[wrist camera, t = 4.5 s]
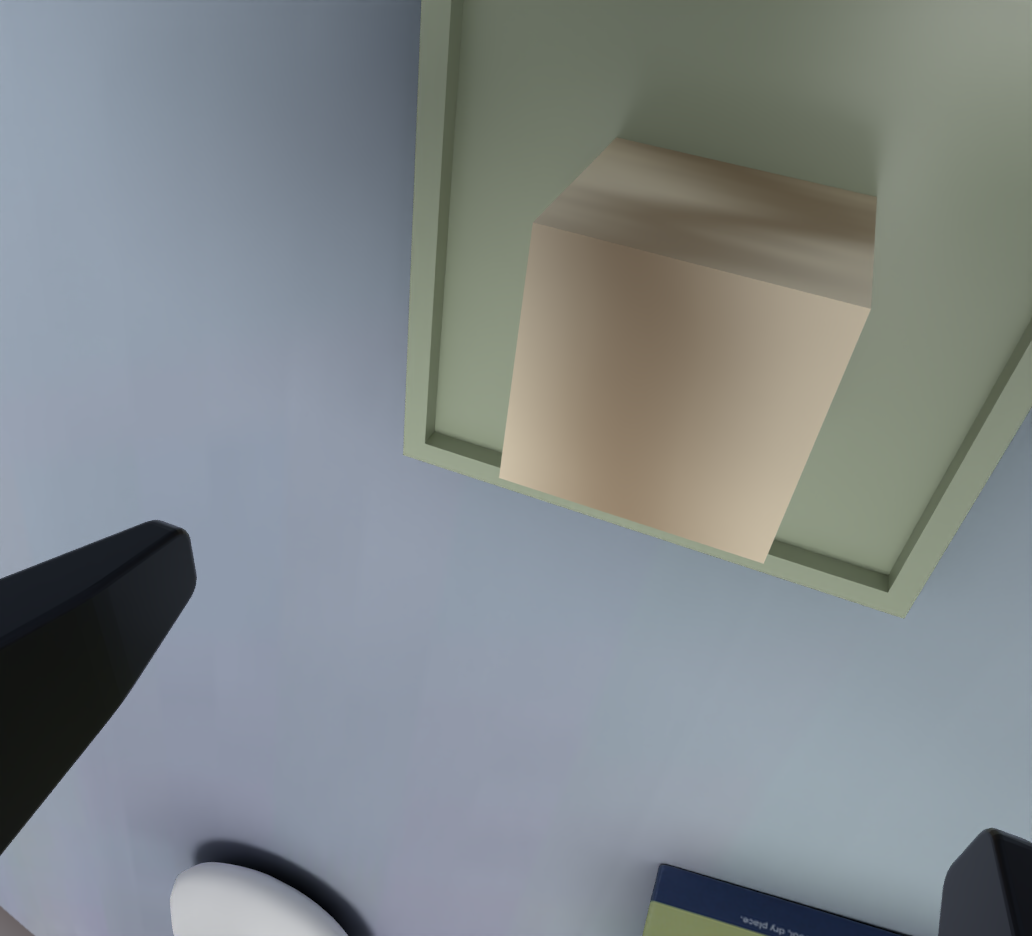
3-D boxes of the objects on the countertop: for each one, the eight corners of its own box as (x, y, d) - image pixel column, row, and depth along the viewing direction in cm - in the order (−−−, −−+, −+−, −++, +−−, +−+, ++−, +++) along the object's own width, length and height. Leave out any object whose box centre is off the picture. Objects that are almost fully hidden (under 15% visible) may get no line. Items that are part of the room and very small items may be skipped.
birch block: (877, 196, 15) (870, 309, 12) (790, 418, 19) (763, 563, 15) (616, 137, 16) (532, 222, 13) (576, 356, 20) (498, 478, 16)
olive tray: (1255, -12, 12) (1278, -3, 12) (903, 590, 20) (904, 618, 20) (450, -145, 15) (427, -145, 14) (419, 435, 23) (402, 454, 22)
